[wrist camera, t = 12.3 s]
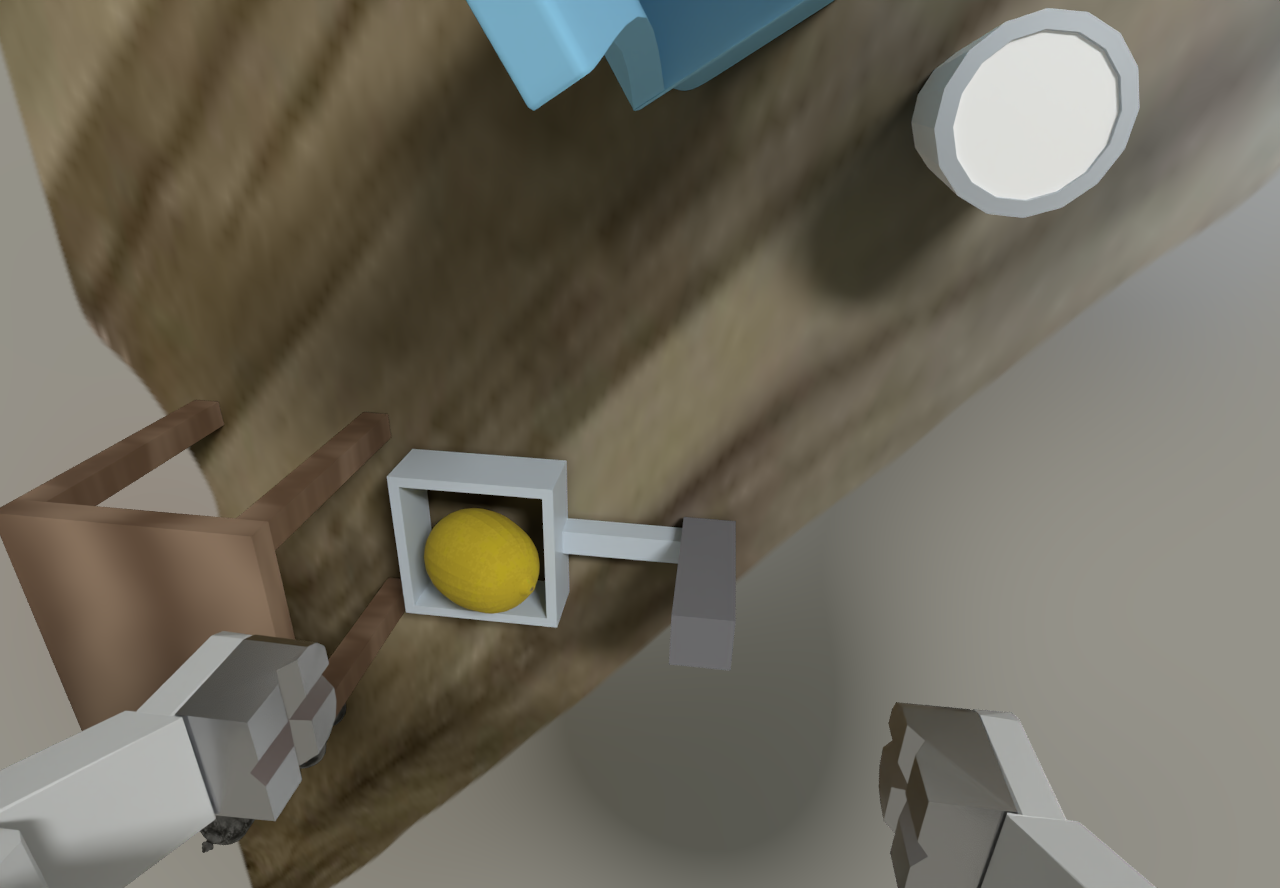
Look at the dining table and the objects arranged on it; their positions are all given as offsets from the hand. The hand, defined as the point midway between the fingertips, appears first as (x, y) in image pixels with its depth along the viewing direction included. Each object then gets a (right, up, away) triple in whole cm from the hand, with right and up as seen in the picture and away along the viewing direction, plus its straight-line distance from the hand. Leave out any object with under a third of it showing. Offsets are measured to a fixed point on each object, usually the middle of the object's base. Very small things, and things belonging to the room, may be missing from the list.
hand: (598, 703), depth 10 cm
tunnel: (-20, 0, +35) cm, 40 cm away
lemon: (-12, -1, +33) cm, 35 cm away
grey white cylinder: (+16, +18, +22) cm, 33 cm away
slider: (-3, -1, +33) cm, 33 cm away
